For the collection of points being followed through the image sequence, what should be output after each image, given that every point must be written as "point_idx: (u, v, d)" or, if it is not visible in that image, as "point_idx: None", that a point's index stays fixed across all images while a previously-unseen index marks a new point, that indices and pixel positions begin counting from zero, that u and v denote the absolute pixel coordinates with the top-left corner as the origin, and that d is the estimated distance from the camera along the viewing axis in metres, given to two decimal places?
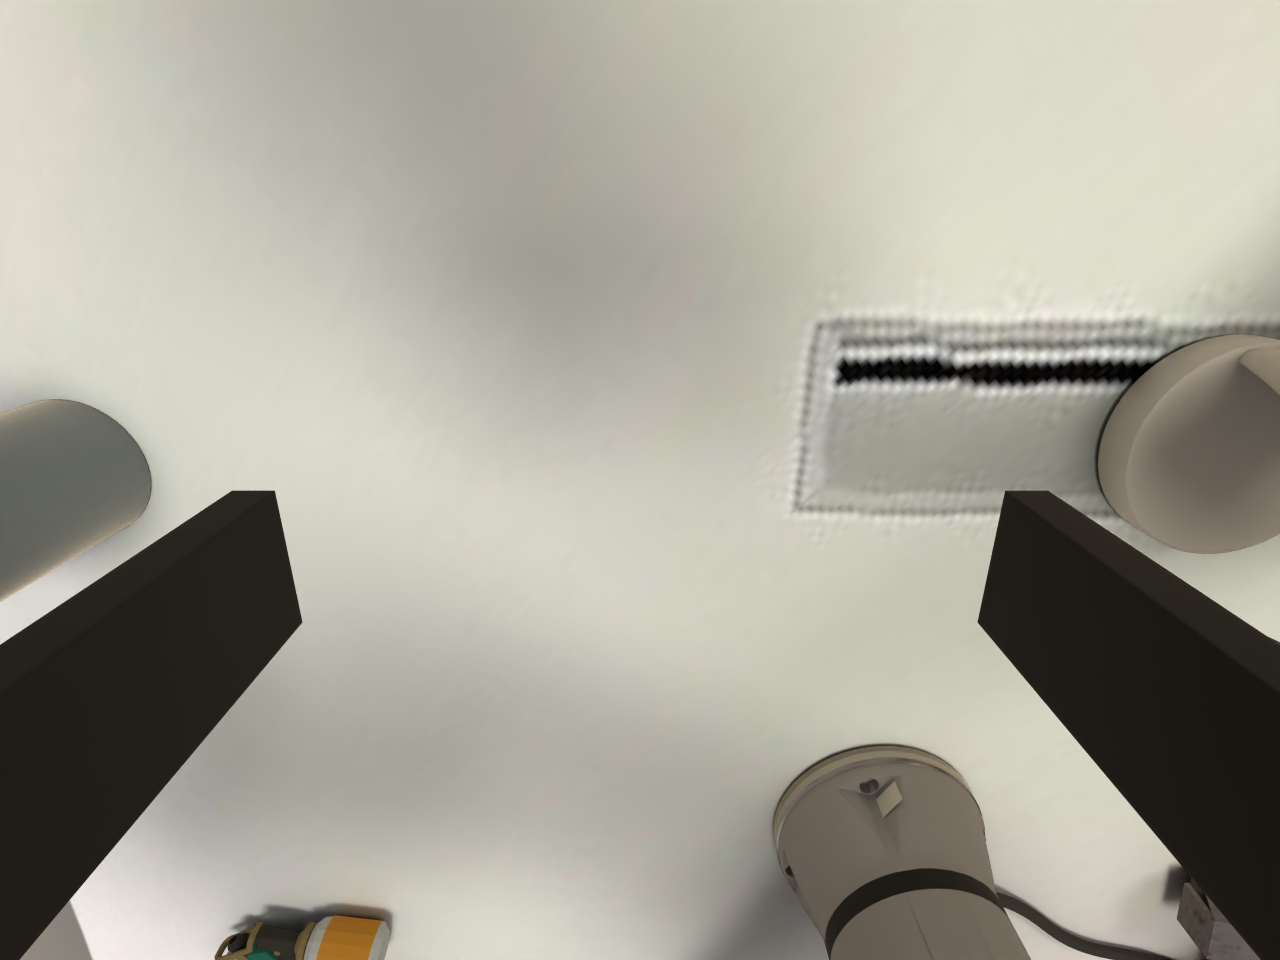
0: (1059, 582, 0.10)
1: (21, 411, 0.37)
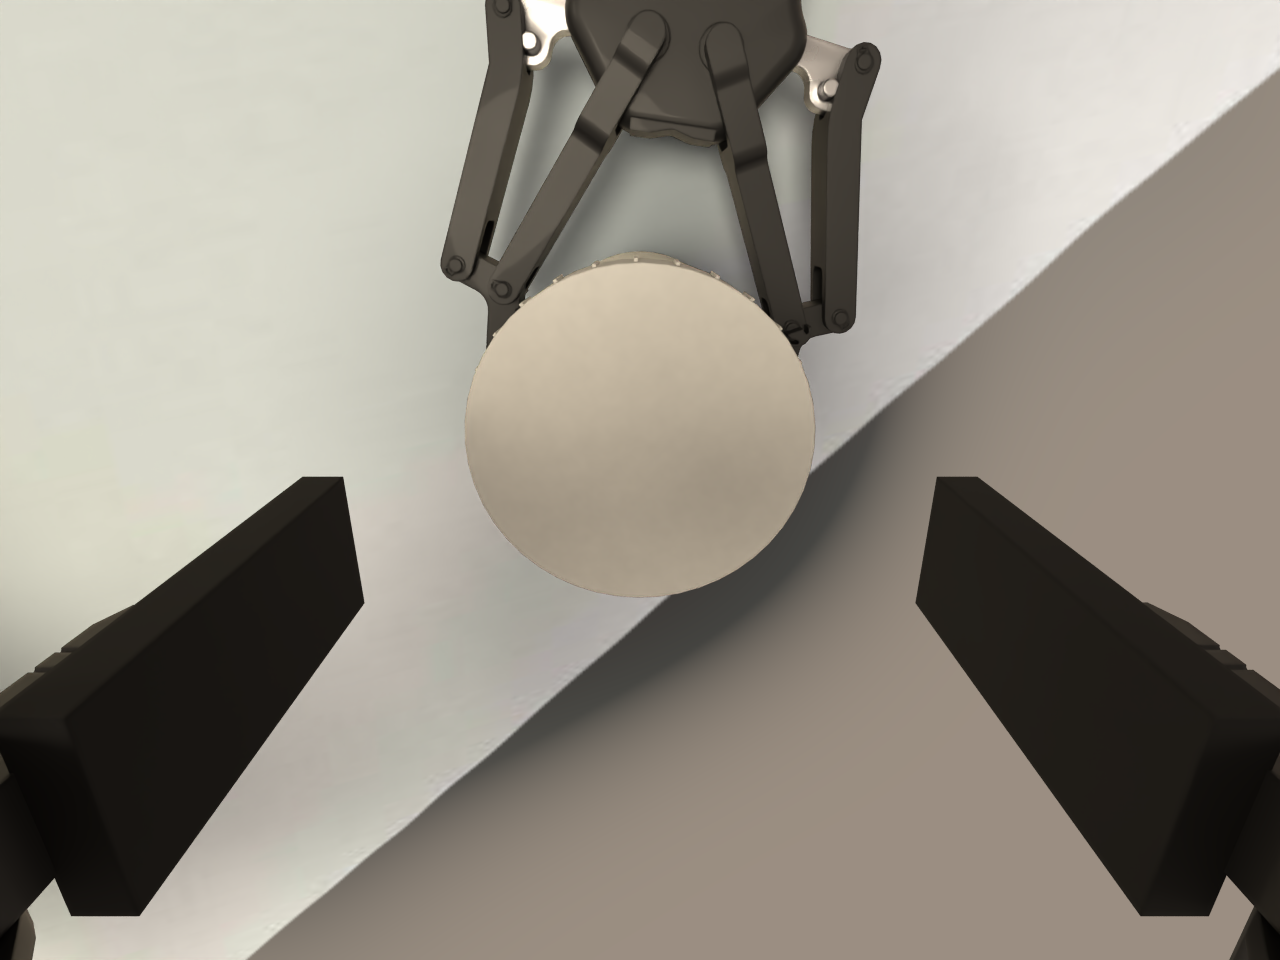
0: (978, 561, 0.11)
1: None
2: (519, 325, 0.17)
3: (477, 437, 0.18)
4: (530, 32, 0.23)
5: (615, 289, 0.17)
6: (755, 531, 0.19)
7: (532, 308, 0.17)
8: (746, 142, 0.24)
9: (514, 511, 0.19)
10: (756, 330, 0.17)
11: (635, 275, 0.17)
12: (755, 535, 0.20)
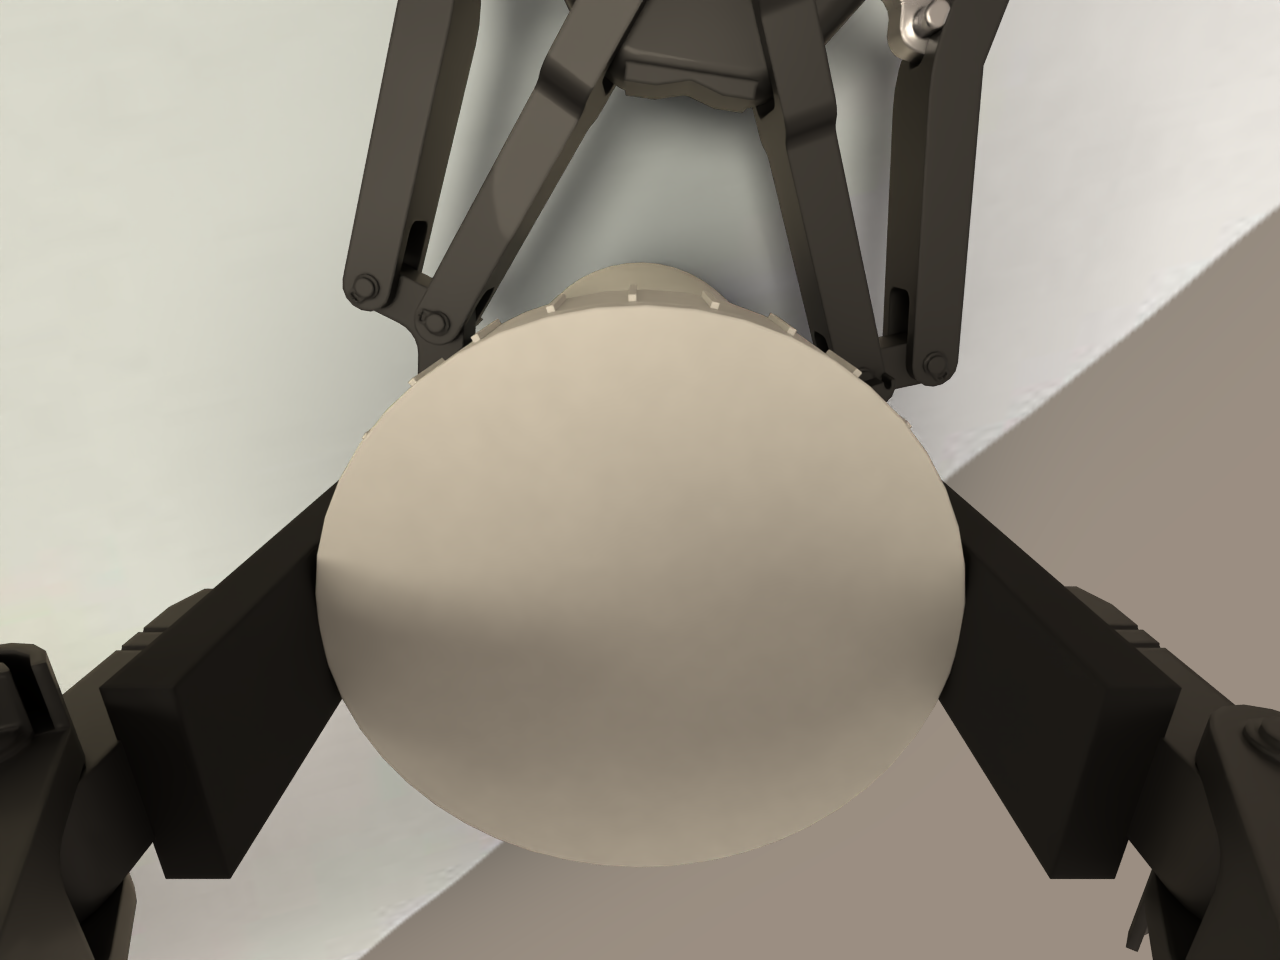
0: None
1: None
2: (405, 425, 0.09)
3: (340, 621, 0.10)
4: None
5: (592, 358, 0.09)
6: (844, 770, 0.11)
7: (429, 393, 0.09)
8: (805, 99, 0.15)
9: (416, 739, 0.11)
10: (867, 434, 0.09)
11: (631, 330, 0.08)
12: (844, 776, 0.11)
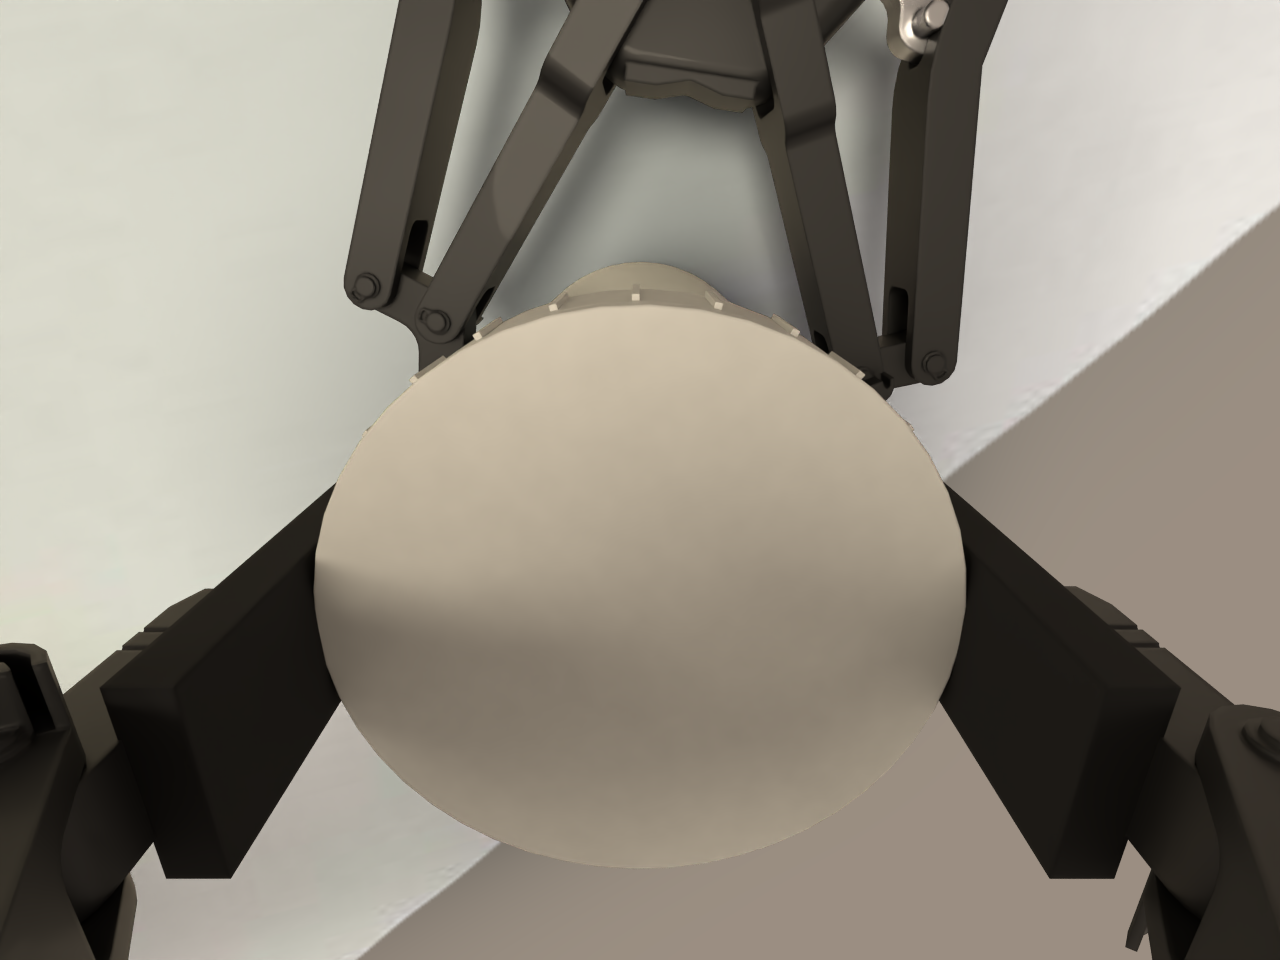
0: None
1: None
2: (440, 794, 0.11)
3: (623, 854, 0.12)
4: None
5: (366, 667, 0.10)
6: (840, 421, 0.09)
7: (413, 776, 0.11)
8: (805, 99, 0.15)
9: (755, 817, 0.11)
10: (406, 441, 0.09)
11: (339, 639, 0.10)
12: (850, 421, 0.09)
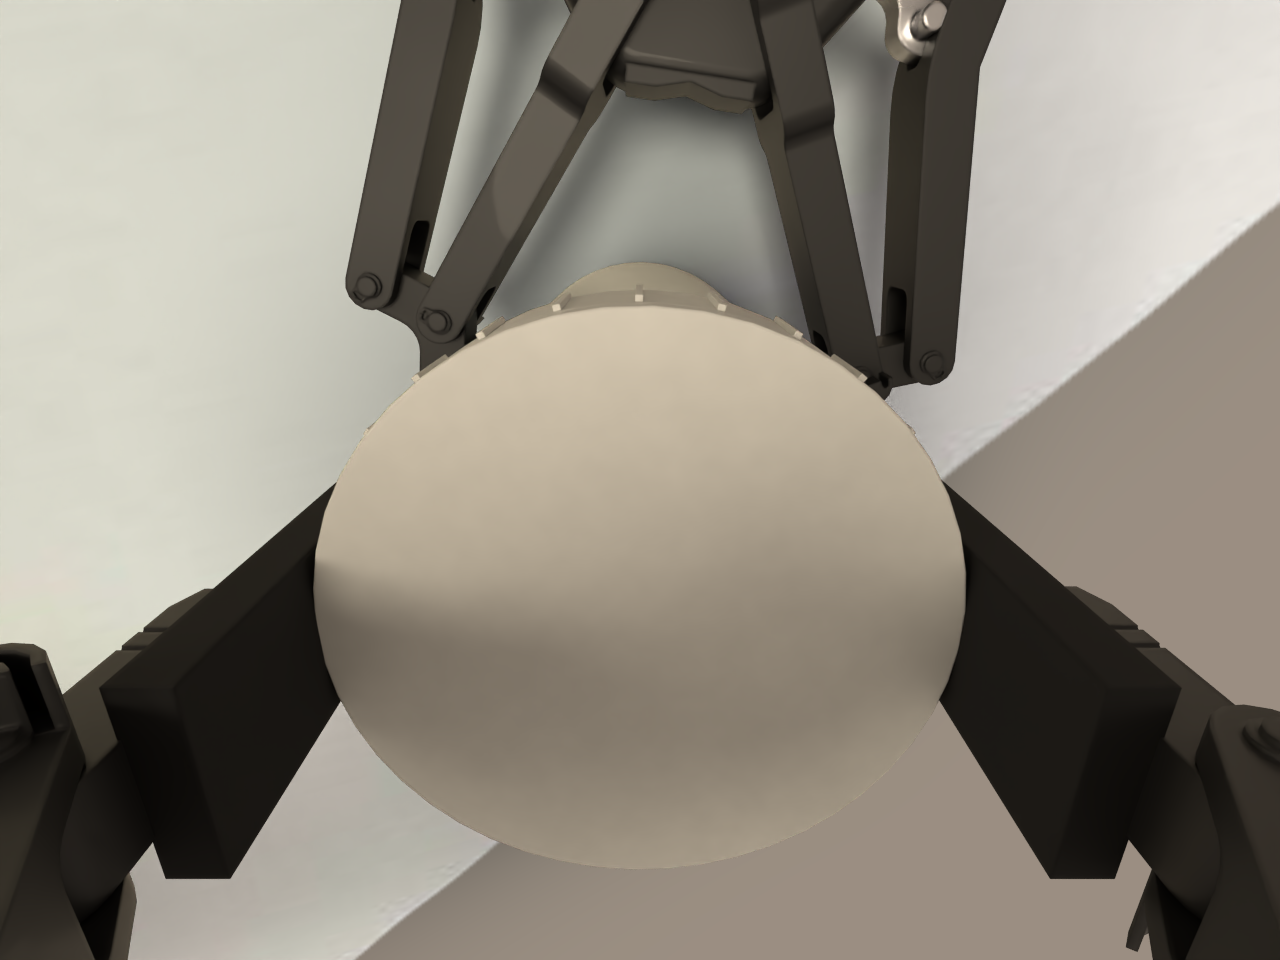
0: None
1: None
2: (821, 807, 0.11)
3: (934, 655, 0.10)
4: None
5: (671, 843, 0.12)
6: (396, 468, 0.09)
7: (797, 824, 0.11)
8: (804, 101, 0.15)
9: (900, 520, 0.09)
10: (453, 794, 0.11)
11: (640, 856, 0.12)
12: (394, 459, 0.09)
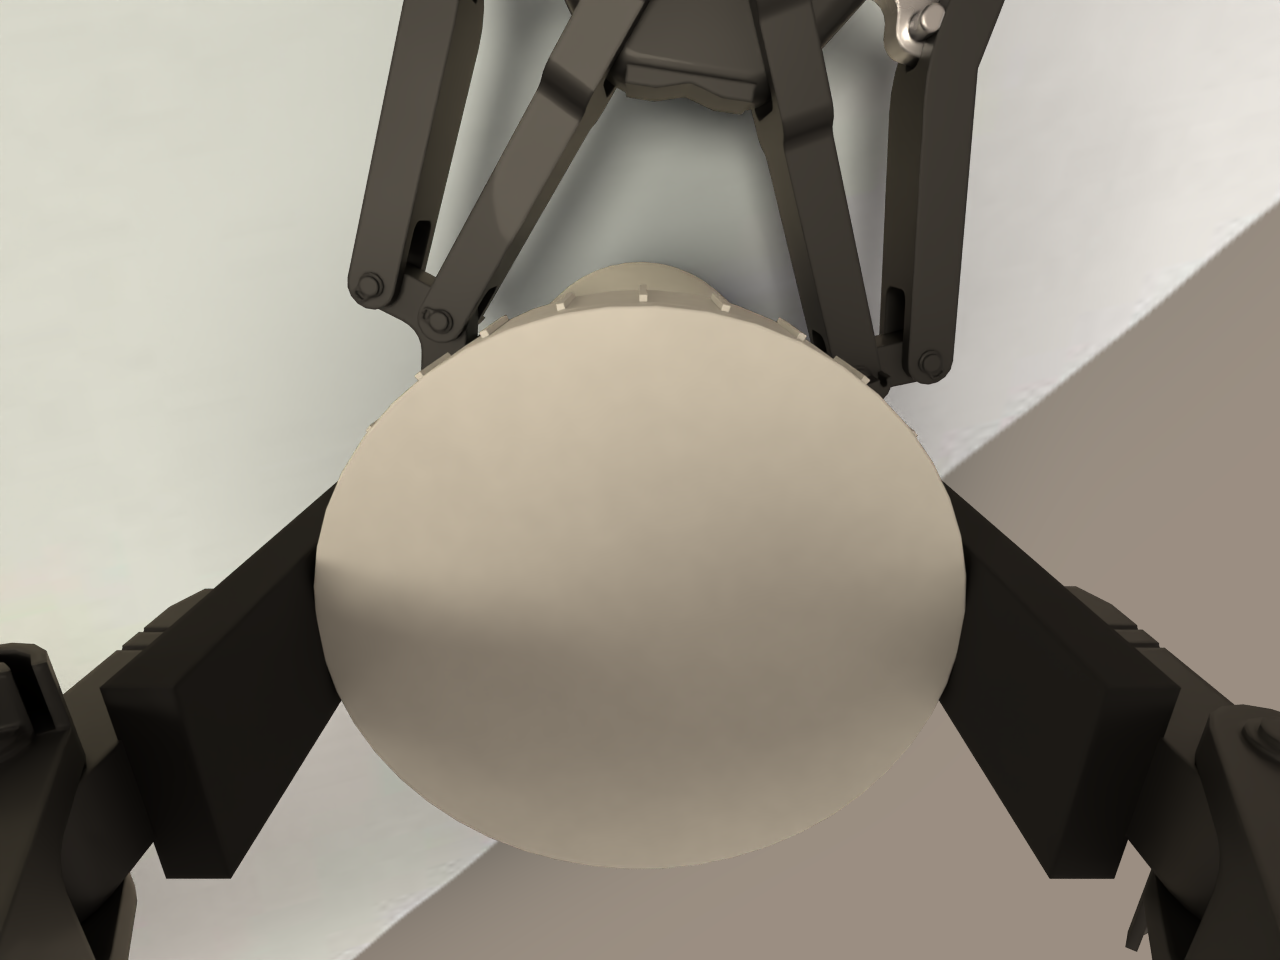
0: None
1: None
2: (892, 445, 0.09)
3: (670, 335, 0.08)
4: None
5: (924, 608, 0.10)
6: (477, 802, 0.11)
7: (918, 470, 0.09)
8: (803, 102, 0.16)
9: (496, 397, 0.09)
10: (823, 795, 0.11)
11: (940, 637, 0.10)
12: (469, 802, 0.11)
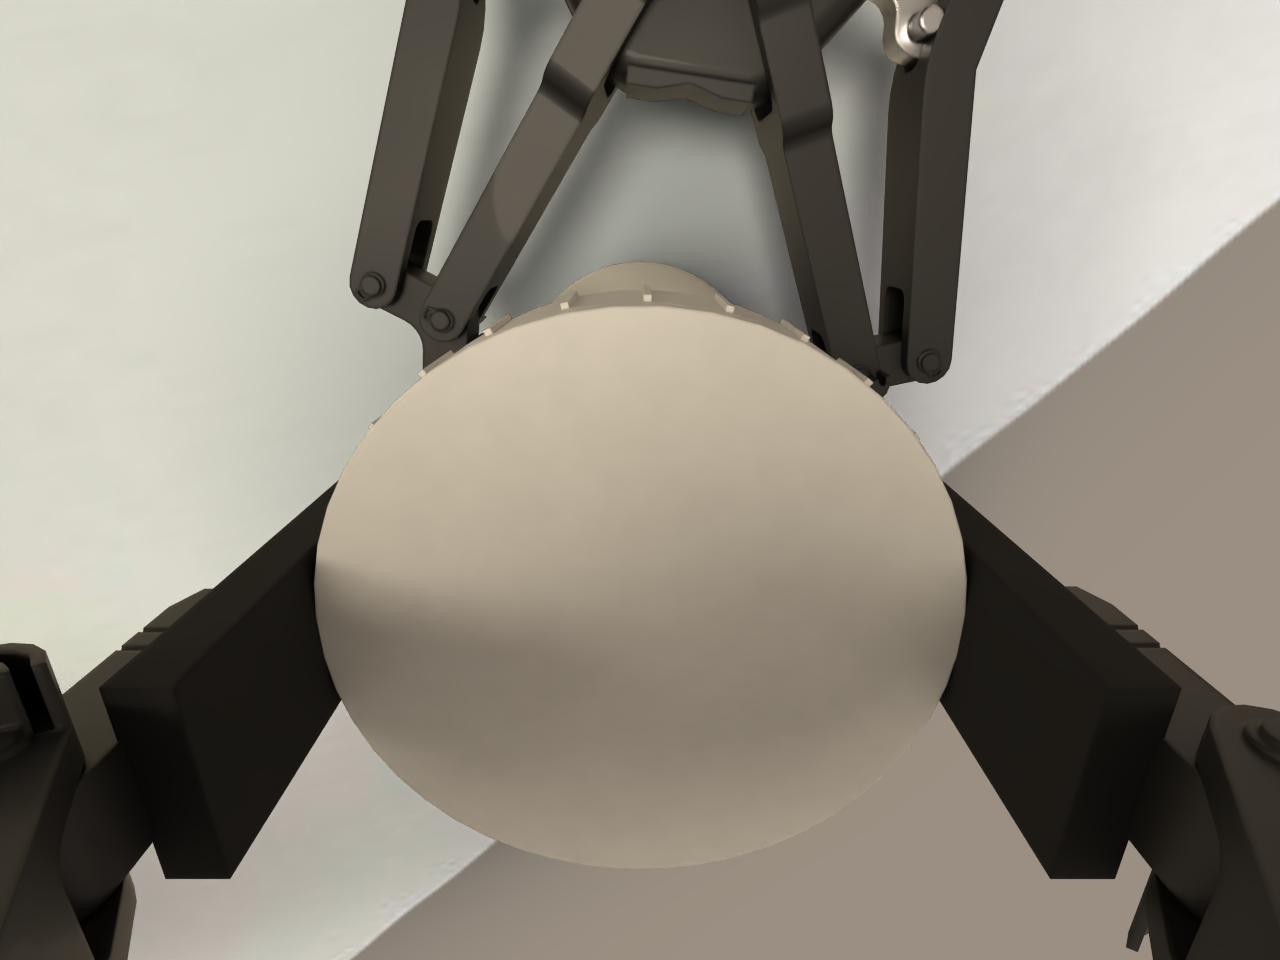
0: None
1: None
2: (413, 417, 0.09)
3: (338, 612, 0.10)
4: None
5: (604, 356, 0.09)
6: (837, 778, 0.11)
7: (439, 386, 0.09)
8: (802, 102, 0.16)
9: (409, 733, 0.11)
10: (876, 444, 0.09)
11: (646, 331, 0.08)
12: (836, 784, 0.11)
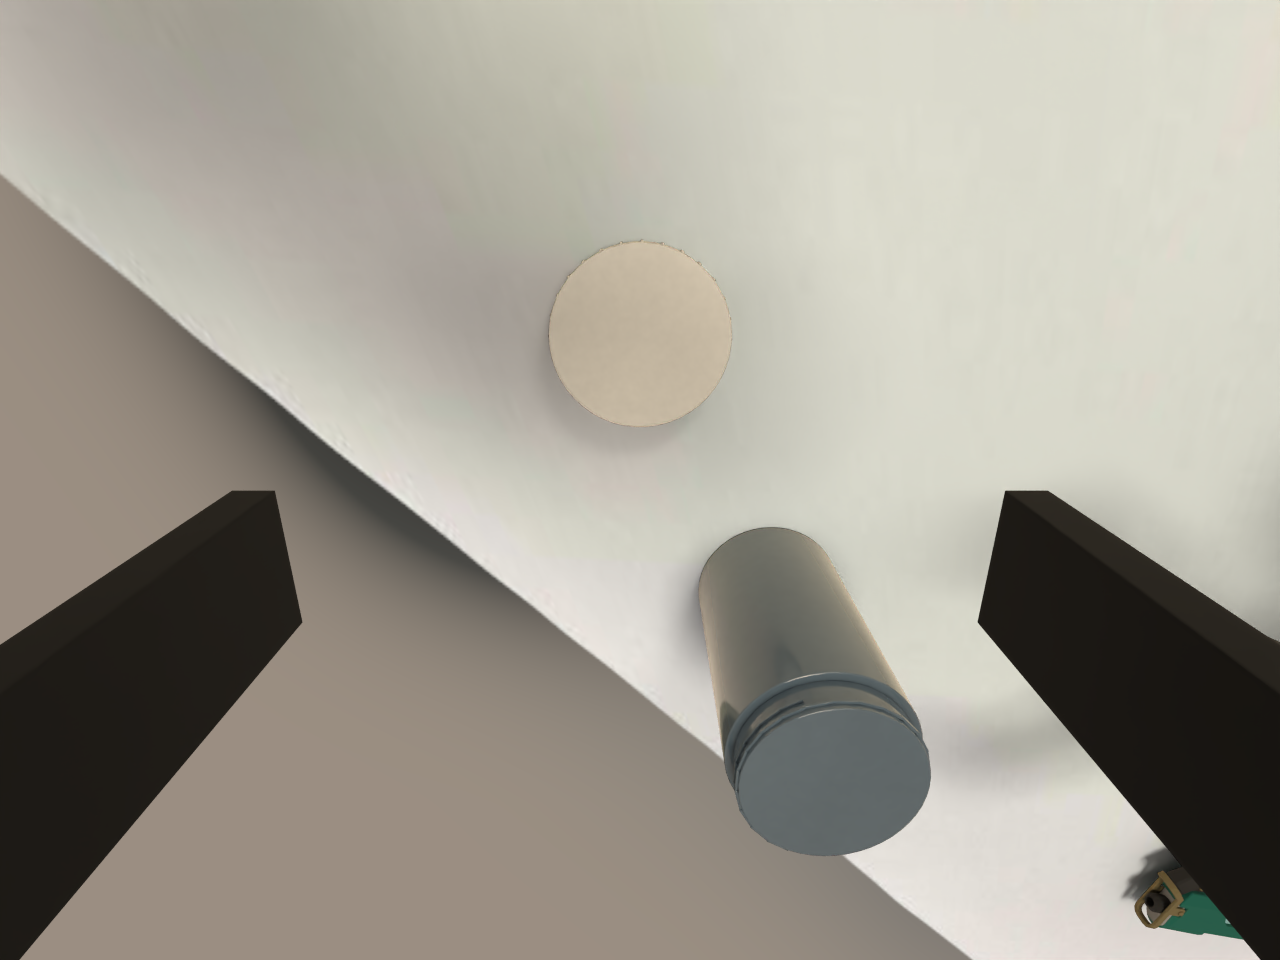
0: (1059, 581, 0.10)
1: (727, 565, 0.39)
2: (581, 272, 0.34)
3: (555, 331, 0.35)
4: None
5: (631, 255, 0.34)
6: (699, 390, 0.36)
7: (588, 263, 0.34)
8: None
9: (571, 373, 0.36)
10: (701, 279, 0.34)
11: (641, 249, 0.34)
12: (699, 392, 0.36)
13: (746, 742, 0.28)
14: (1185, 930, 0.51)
